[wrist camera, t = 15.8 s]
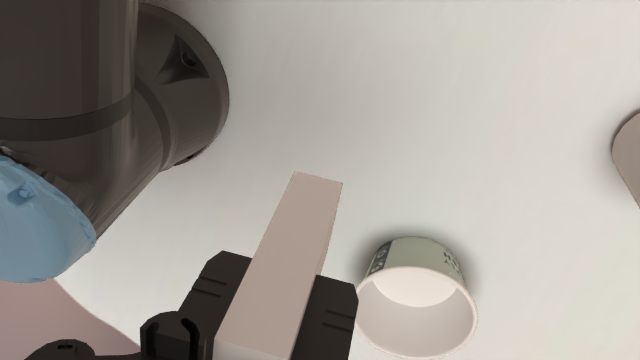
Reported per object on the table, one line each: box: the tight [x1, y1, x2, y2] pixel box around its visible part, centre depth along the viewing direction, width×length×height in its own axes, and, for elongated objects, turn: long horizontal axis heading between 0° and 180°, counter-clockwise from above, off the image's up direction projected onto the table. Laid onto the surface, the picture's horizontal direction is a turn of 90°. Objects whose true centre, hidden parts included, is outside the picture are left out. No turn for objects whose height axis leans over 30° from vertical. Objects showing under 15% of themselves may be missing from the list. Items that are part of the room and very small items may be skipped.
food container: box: [354, 237, 478, 360], centre depth 51 cm, size 12×12×7 cm
